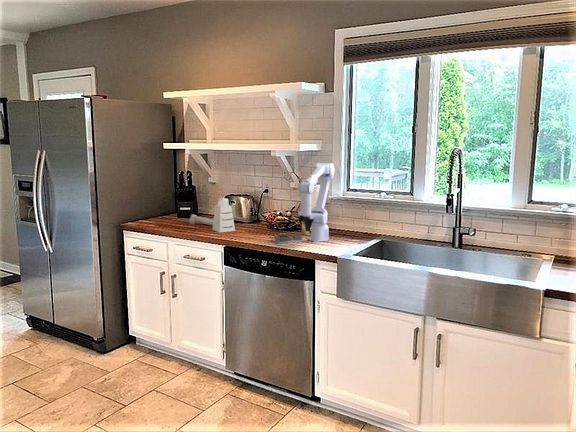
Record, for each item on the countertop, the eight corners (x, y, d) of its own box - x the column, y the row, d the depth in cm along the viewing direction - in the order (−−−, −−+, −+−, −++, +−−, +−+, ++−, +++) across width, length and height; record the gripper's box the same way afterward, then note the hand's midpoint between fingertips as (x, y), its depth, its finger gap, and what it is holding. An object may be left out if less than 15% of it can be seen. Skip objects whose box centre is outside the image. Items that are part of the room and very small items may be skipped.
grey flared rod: (216, 221, 308) (187, 213, 320) (215, 231, 309) (187, 222, 322) (221, 220, 312) (193, 212, 325) (220, 230, 313) (192, 221, 326)
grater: (227, 228, 306) (226, 197, 302) (235, 230, 297) (234, 198, 294) (212, 229, 300) (211, 198, 297) (219, 232, 291) (219, 199, 288)
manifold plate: (300, 238, 275) (300, 233, 274) (307, 241, 267) (307, 235, 266) (271, 240, 267) (271, 235, 267) (277, 243, 259) (277, 238, 259)
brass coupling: (307, 233, 257) (307, 220, 257) (311, 234, 253) (311, 221, 252) (299, 234, 256) (299, 221, 255) (303, 235, 251) (303, 222, 250)
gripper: (293, 203, 257) (293, 228, 259) (305, 207, 244) (305, 233, 246) (304, 203, 260) (304, 227, 262) (317, 206, 247) (317, 232, 249)
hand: (305, 230), depth 254 cm, fingers closed on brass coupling, 4 cm apart
